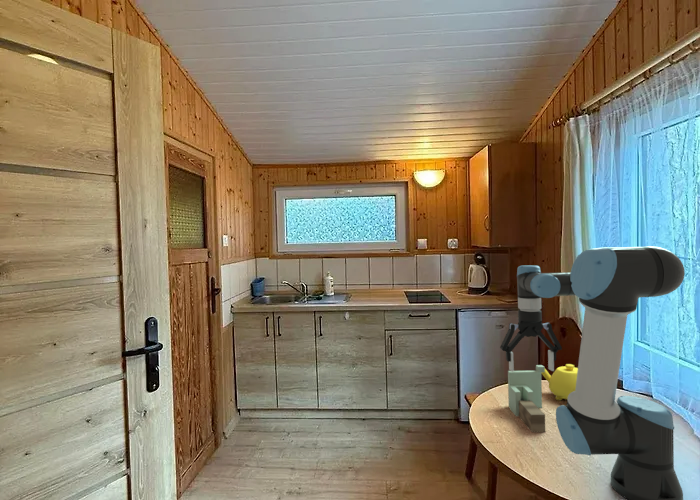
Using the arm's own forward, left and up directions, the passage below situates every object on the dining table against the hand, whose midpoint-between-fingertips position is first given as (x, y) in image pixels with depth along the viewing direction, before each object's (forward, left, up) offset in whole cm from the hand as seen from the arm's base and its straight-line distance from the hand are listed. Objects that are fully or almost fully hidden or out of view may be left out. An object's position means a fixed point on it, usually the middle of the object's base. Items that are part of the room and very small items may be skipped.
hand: (531, 370), depth 144 cm
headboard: (+11, +5, -19) cm, 23 cm away
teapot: (+33, -1, -20) cm, 39 cm away
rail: (+2, +2, -19) cm, 20 cm away
